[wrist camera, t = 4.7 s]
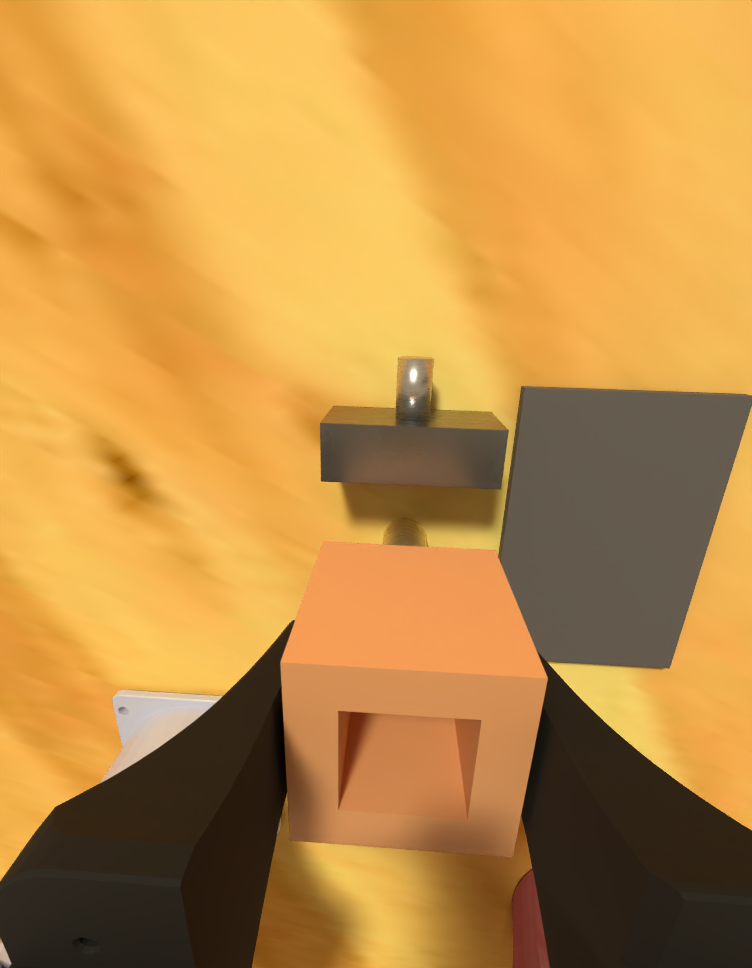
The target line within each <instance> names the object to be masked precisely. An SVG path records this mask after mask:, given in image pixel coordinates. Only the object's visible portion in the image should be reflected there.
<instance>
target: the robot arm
mask: <svg viewBox="0 0 752 968" xmlns="http://www.w3.org/2000/svg"><path fill="white" fill-rule="evenodd" d="M294 622H295V620H293V621H292V622H291V623H289V625H288V626H287V627H286V628H285V630H284V631H283V632H282V633H281V635H280V636H279V637H278V638H277V640H276V641H275V642H274V643H273V644H272V645H271V647H270V648H269V649H268V650H267V651H266V652H265V654H264V655H263V656H262V657H261V658H260V659H259V660H258V661H257V662H256V663H255V665H254V666H253V667H252V668H251V669H250V670H249V671H248V672H247V673H246V674H245V675H244V676H243V677H242V678H241V679H240V680H239V681H238V682H237V683H236V684H235V685H234V686H233V687H232V688H231V689H230V690H229V691H228V692H227V693H226V694H225V695H224V696H213V695H197V694H182V693H166V692H151V691H135V690H120V691H118V692H117V693H116V695H115V696H114V697H113V699H112V702H113V707H114V711H115V716H116V720H117V725H118V729H119V734H120V738H121V743H122V747H123V748H122V750H121V751H120V753H119V754H118V756H117V757H116V759H115V760H114V762H113V764H112V765H111V767H110V768H109V770H108V771H107V773H106V774H105V776H104V777H103V779H102V780H101V782H100V784H98V785H96V786H94V787H92V788H90V789H89V790H87V791H85V792H83V793H81V794H79V795H77V796H76V797H74V798H72V799H70V800H68V801H66V802H64V803H62V804H60V805H58V806H56V807H55V808H54V810H53V811H52V812H51V813H50V815H49V816H48V817H47V818H46V819H45V821H44V822H43V823H42V824H41V826H40V827H39V828H38V829H37V831H36V832H35V833H34V835H33V836H32V837H31V839H30V840H29V842H28V843H27V844H26V846H25V847H24V849H23V850H22V851H21V853H20V854H19V856H18V857H17V859H16V860H15V861H14V863H13V864H12V866H11V867H10V868H9V870H8V871H7V873H6V874H5V875H4V877H3V878H2V880H1V881H0V968H252V962H253V957H254V951H255V946H256V940H257V935H258V929H259V924H260V918H261V913H262V908H263V903H264V897H265V892H266V887H267V882H268V877H269V872H270V867H271V861H272V857H273V852H274V847H275V842H276V837H277V834H278V833H279V832H280V827H281V814H282V810H283V806H284V802H285V798H286V795H287V777H286V759H285V740H284V721H283V702H282V683H281V665H280V662H281V659H282V656H283V653H284V651H285V648H286V645H287V642H288V639H289V637H290V634H291V631H292V628H293V625H294ZM536 651H537V650H536ZM537 653H538V655H539V658H540V660H541V663H542V665H543V668H544V670H545V673H546V675H547V677H548V681H547V686H546V691H545V696H544V701H543V706H542V711H541V716H540V721H539V727H538V732H537V737H536V742H535V747H534V752H533V757H532V762H531V767H530V772H529V777H528V782H527V787H526V793H525V798H524V803H523V808H522V813H521V816H522V820H523V824H524V828H525V833H526V837H527V842H528V847H529V852H530V858H531V863H532V868H533V873H534V879H535V884H536V890H537V895H538V901H539V907H540V912H541V918H542V924H543V929H544V935H545V941H546V948H547V954H548V960H549V966H550V968H752V830H750V829H748V828H747V827H745V826H743V825H742V824H740V823H739V822H737V821H735V820H734V819H732V818H731V817H729V816H728V815H726V814H725V813H723V812H722V811H720V810H719V809H717V808H715V807H714V806H712V805H711V804H709V803H708V802H706V801H705V800H703V799H702V798H700V797H699V796H698V795H696V794H695V793H693V792H692V791H690V790H689V789H688V788H686V787H685V786H683V785H682V784H680V783H679V782H678V781H676V780H675V779H674V778H672V777H671V776H670V775H668V774H667V773H666V772H664V771H663V770H662V769H660V768H659V767H658V766H656V765H655V764H654V763H652V762H651V761H650V760H649V759H647V758H646V757H645V756H644V755H642V754H641V753H640V752H639V751H637V750H636V749H635V748H634V747H633V746H632V745H630V744H629V743H628V742H627V741H626V740H625V739H623V738H622V737H621V736H620V735H619V734H617V733H616V732H615V731H614V730H613V729H612V728H611V727H610V726H608V725H607V724H606V723H605V722H604V721H603V720H602V719H601V718H600V717H599V716H598V715H597V714H596V713H595V712H594V711H593V710H592V709H591V708H590V707H589V706H588V705H586V704H585V703H584V702H583V701H582V700H581V699H580V697H579V696H578V695H577V694H576V693H575V692H574V691H573V690H572V689H571V688H570V687H569V686H568V685H567V684H566V683H565V682H564V680H563V679H562V678H561V677H560V676H559V675H558V674H557V673H556V672H555V671H554V669H553V668H552V667H551V666H550V665H549V664H548V663H547V661H546V660H545V659H544V658H543V657H542V656H541V654H540V653H539V652H538V651H537Z"/></svg>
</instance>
